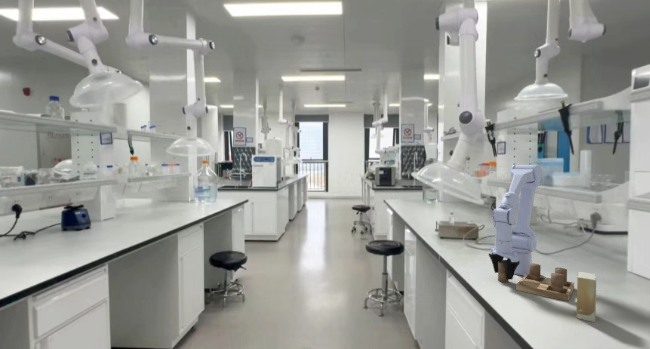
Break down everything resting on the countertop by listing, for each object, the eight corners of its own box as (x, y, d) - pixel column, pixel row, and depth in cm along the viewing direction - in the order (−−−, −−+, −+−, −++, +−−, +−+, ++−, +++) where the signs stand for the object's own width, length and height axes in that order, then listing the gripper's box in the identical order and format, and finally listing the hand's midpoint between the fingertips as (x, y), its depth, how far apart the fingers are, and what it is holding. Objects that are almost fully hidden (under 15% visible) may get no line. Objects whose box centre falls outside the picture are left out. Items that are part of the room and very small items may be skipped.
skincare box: (577, 311, 104) (578, 270, 103) (595, 315, 101) (596, 273, 101) (576, 318, 99) (576, 276, 98) (595, 323, 96) (596, 279, 96)
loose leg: (499, 278, 133) (499, 260, 132) (509, 280, 130) (509, 262, 130) (496, 281, 130) (497, 262, 130) (507, 283, 128) (507, 264, 128)
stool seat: (526, 279, 132) (526, 260, 132) (574, 288, 122) (574, 268, 122) (516, 290, 121) (516, 270, 121) (568, 301, 111) (568, 279, 111)
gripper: (483, 236, 137) (483, 270, 137) (504, 244, 122) (503, 282, 123) (500, 235, 137) (500, 269, 138) (523, 244, 123) (523, 282, 123)
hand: (503, 275), depth 130 cm, fingers open, 7 cm apart
